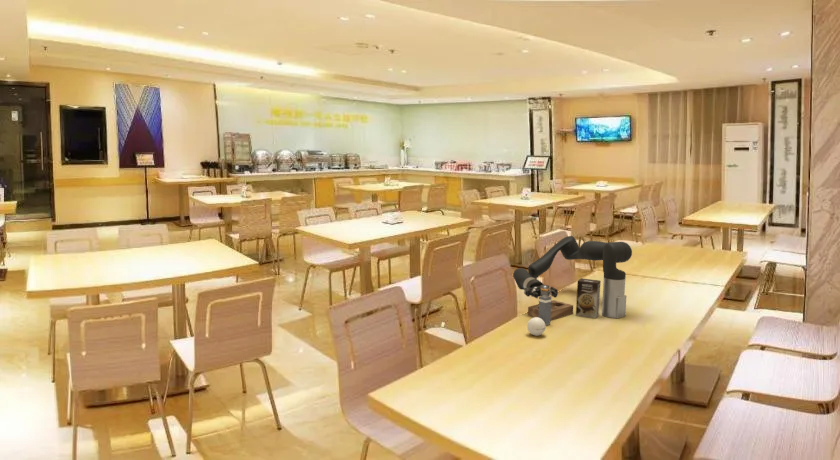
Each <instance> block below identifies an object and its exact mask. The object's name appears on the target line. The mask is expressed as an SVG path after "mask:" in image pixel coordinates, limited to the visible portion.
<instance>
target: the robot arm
mask: <svg viewBox="0 0 840 460" xmlns="http://www.w3.org/2000/svg"><path fill="white" fill-rule="evenodd" d="M559 252H560V253H561V255H562V257H564V259H565V260H569V261H572V260H586V261H595V262H596V261H602V271H603V281H602V282H603V283H602V284H603V285H602V286H603V287H602V301H601V303H602V305H601V315H602V316H603V317H606V318H614V319H621V318H624V317H626V309H627V295H626V294H625V292H626V278H627V277H626V275H627V274H626V272H625V271H624V270H622V269H618V268H617V264H620V263H626V262H628V261H629V260H630V259H631V258H632V254H633V251H632V247H631V246H630V244H628V243H627V242H625V241H611V242H605V241H600V240H599V241H597V240H588V241H587V240H586V241H584V242H583V243H582V244H581V245H580V246H579V244H578V241H577V240H576V238H575V236H573V235H569V236H564V237H563V238H561V239H560V240H559V241H557V242H556V244H554V245H553V246H552V247H550V249H548V251H547V252H546V253H544V254H543V255H542V256H541V257H540V258H538V259H536V260H535V261H534V262H532V263H531V264H529V265H528V266H527V268H528V269H526V268H523V267H519V268H518V267H517V268H516V269H515V270H514V271H513V273H512V277H513V279H514V281H515V284H516V286H517V287H518V289H519V290H523V294H524V295H525V296H526V297H530V296H531V297H533V298H535V299H539V296H541V285H545V284H544V283H543V282H541V280H539V279H538V278H539V277H540V276H541V275H543V274H544V273H546V272H547V271H548V270H549V269H550V268H551V266H552V264H553V262H554V259H555V258H556V256H557V254H558V253H559ZM558 291H559V290H558V289H557V288H555V287H554V286H549V296H550V297H552V298H557V297H558Z"/></svg>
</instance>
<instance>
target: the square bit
mask: <svg viewBox="0 0 840 460" xmlns="http://www.w3.org/2000/svg"><path fill="white" fill-rule="evenodd" d="M551 301H552V296H551V295H549V296H546V295H543V296H539V297H538V304H539V315H538V318H541V319H542V320H543V321H544V322H545V326H546V327H547V326H549V325H551V320H550V319H551ZM546 324H547V325H546Z"/></svg>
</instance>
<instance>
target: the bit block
mask: <svg viewBox="0 0 840 460" xmlns="http://www.w3.org/2000/svg"><path fill="white" fill-rule="evenodd" d="M573 314H574V304H571V303H566V302H562V301H558V300H555V299H551V319H550V321H553V320H557V319H560V318H563V317H568V316H571V315H573ZM538 315H539V303H537V304H534V305H530V306H527V317H528V316H529V317H531V318H534V317H538Z"/></svg>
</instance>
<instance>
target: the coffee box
mask: <svg viewBox="0 0 840 460" xmlns="http://www.w3.org/2000/svg"><path fill="white" fill-rule="evenodd" d="M600 294H601V280H599V279H598V280H597V279H590V278H582V277H581V278H579V279H578V280H577V288H576V302H575V303H576V304H575V305H576V306H575V316H577V317H584V318H591V319H597V318H598V317H599V314H600V313H599V312H600V309H599V308H600V297H601V295H600Z"/></svg>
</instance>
